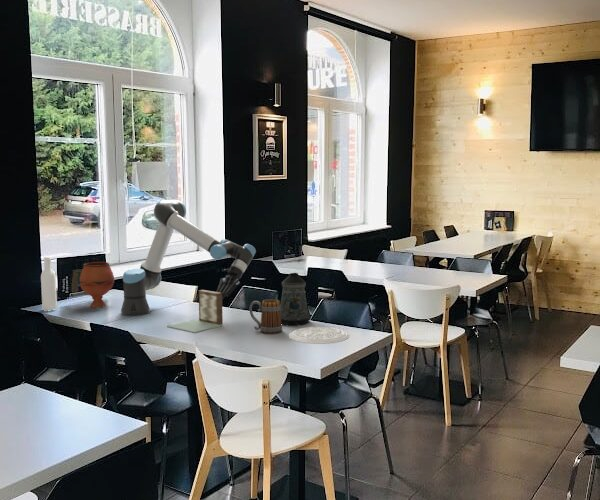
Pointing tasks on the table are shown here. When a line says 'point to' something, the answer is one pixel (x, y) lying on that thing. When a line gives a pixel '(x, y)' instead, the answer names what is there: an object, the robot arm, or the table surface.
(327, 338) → the ceiling medallion
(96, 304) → the goblet
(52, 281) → the bottle
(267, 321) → the mug
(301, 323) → the beer stein
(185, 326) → the mat
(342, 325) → the table surface
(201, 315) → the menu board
